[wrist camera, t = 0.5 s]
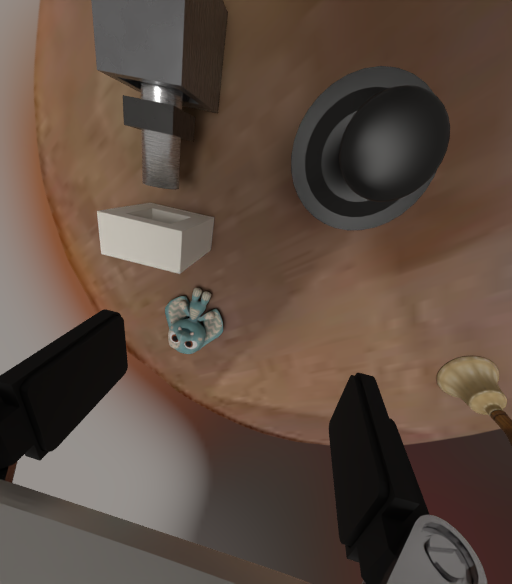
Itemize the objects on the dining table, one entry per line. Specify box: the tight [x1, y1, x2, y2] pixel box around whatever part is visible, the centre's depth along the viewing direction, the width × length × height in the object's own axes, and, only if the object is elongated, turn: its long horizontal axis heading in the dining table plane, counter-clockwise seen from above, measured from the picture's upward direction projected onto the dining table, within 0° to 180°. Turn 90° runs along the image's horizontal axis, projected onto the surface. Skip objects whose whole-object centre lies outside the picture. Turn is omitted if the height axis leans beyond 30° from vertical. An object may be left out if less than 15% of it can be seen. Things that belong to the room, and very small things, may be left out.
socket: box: [97, 203, 214, 274], centre depth 32 cm, size 5×10×10 cm, turn 79°
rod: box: [123, 82, 195, 189], centre depth 25 cm, size 19×5×5 cm, turn 169°
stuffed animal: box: [165, 288, 223, 354], centre depth 41 cm, size 11×7×12 cm
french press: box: [291, 66, 450, 230], centre depth 20 cm, size 12×9×23 cm
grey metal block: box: [92, 0, 228, 113], centre depth 24 cm, size 9×8×10 cm
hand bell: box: [437, 356, 512, 446], centre depth 32 cm, size 8×8×16 cm
